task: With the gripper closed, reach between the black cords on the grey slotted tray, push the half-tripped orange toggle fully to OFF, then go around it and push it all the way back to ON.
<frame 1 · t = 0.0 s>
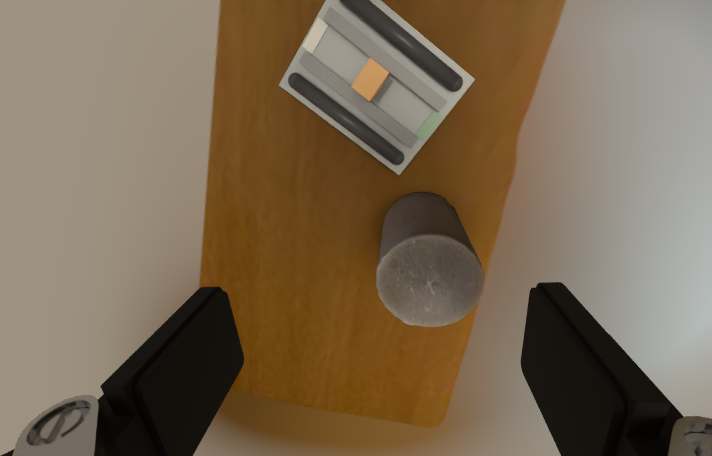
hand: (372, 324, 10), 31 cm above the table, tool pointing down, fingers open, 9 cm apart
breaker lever: (372, 81, 31), point 6 cm above the table, slide at 5.0 cm
pillar candle: (419, 227, 42), on the table
grey slotted tray: (375, 83, 36), on the table
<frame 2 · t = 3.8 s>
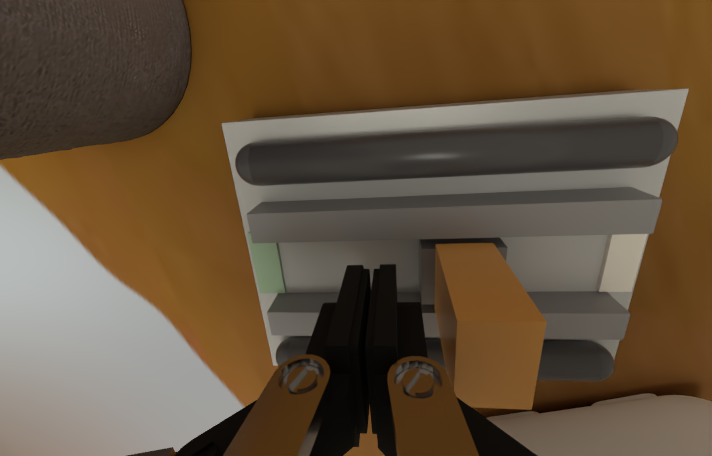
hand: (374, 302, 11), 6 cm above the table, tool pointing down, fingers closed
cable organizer: (580, 452, 21), on the table
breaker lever: (471, 300, 11), point 6 cm above the table, slide at 4.1 cm, touching gripper
pillar candle: (95, 28, 15), on the table
grey slotted tray: (426, 231, 17), on the table
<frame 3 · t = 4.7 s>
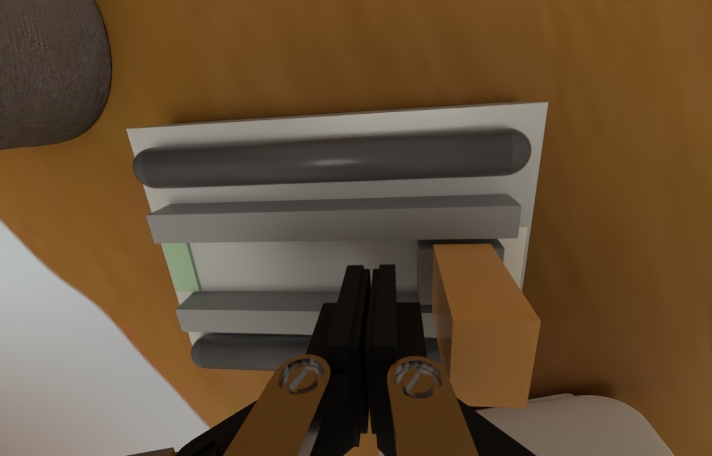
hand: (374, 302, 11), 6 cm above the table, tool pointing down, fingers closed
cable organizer: (510, 450, 22), on the table
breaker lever: (467, 300, 11), point 6 cm above the table, slide at -0.1 cm, touching grey slotted tray, gripper
pillar candle: (21, 36, 16), on the table
grey slotted tray: (343, 234, 17), on the table
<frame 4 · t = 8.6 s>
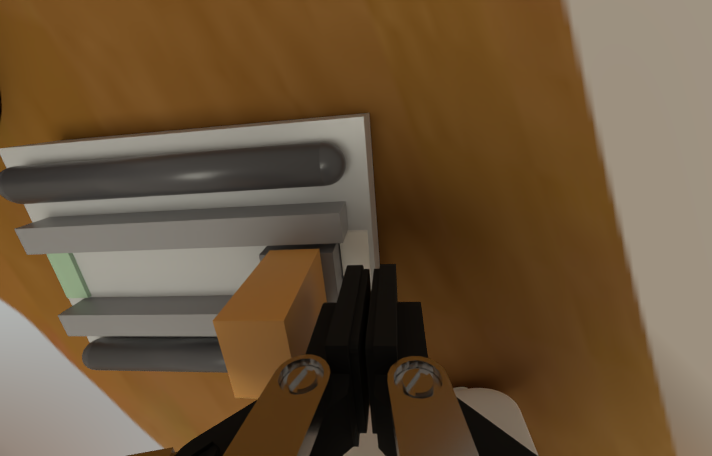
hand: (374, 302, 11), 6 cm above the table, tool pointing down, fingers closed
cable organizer: (421, 443, 23), on the table
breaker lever: (288, 302, 12), point 6 cm above the table, slide at 0.0 cm, touching gripper
grey slotted tray: (233, 240, 18), on the table
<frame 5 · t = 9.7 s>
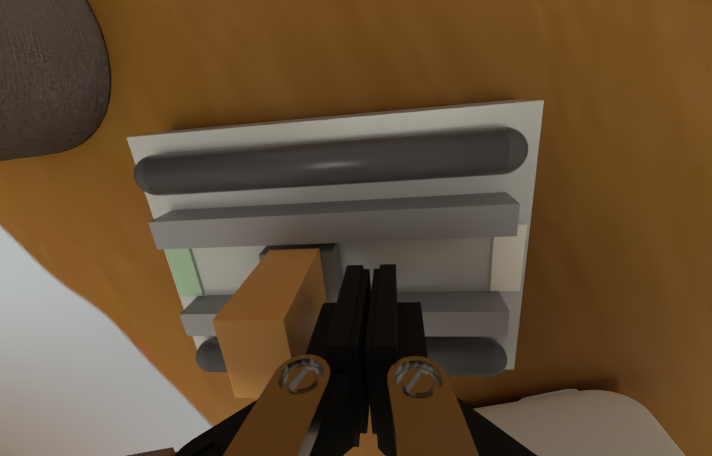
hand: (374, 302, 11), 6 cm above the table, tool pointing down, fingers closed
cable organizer: (516, 447, 22), on the table
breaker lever: (288, 301, 12), point 6 cm above the table, slide at 6.2 cm, touching gripper
pillar candle: (21, 48, 16), on the table
grey slotted tray: (344, 235, 17), on the table
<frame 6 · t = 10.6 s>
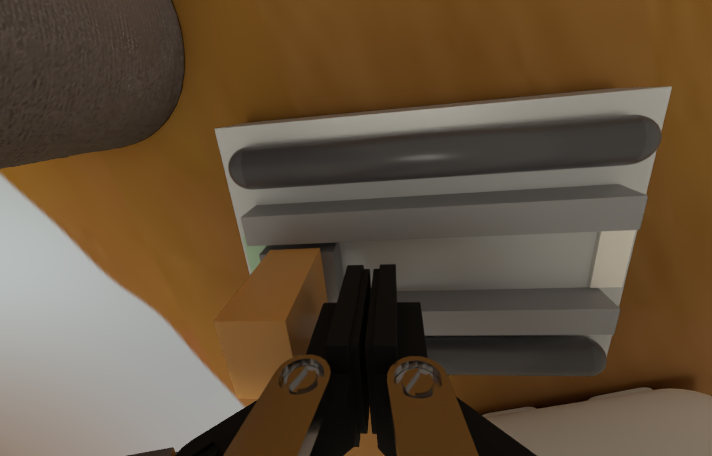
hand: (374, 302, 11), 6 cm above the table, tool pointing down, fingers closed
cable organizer: (578, 446, 22), on the table
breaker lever: (289, 301, 12), point 6 cm above the table, slide at 10.1 cm, touching grey slotted tray, gripper
pillar candle: (89, 37, 15), on the table
grey slotted tray: (420, 231, 17), on the table
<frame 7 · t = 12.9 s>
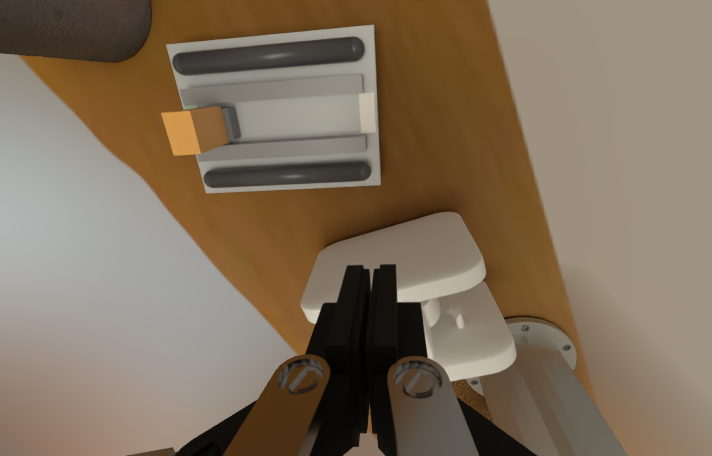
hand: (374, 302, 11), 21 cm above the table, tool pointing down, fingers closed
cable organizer: (403, 264, 35), on the table
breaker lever: (203, 128, 25), point 6 cm above the table, slide at 10.1 cm
grey slotted tray: (289, 115, 30), on the table
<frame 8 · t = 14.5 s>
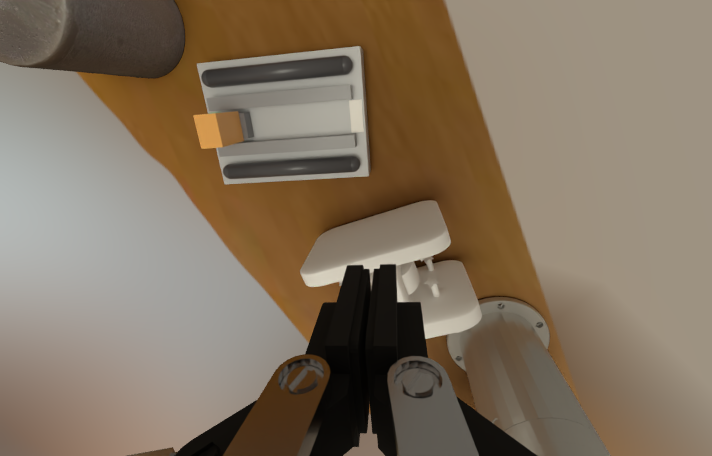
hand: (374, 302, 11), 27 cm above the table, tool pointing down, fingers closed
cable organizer: (392, 248, 41), on the table
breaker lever: (224, 128, 31), point 6 cm above the table, slide at 10.1 cm
pillar candle: (143, 26, 34), on the table
grey slotted tray: (294, 119, 36), on the table
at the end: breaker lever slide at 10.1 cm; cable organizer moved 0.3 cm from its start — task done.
